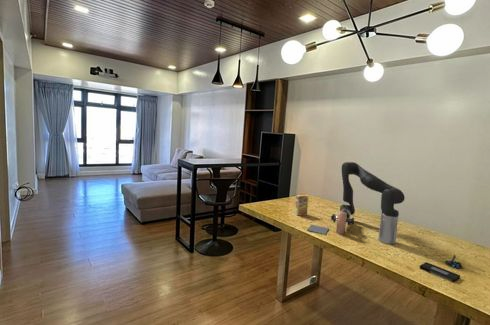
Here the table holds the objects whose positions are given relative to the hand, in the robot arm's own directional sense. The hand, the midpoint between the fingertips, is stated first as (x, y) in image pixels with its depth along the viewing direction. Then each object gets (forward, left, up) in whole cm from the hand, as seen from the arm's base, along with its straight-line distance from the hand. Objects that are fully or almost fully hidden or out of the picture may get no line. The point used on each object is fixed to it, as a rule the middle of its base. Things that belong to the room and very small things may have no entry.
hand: (341, 222), depth 172 cm
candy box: (+33, -25, -8) cm, 42 cm away
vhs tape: (-50, +24, -9) cm, 56 cm away
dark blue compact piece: (-58, +10, -9) cm, 59 cm away
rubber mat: (+14, +1, -8) cm, 16 cm away
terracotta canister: (0, -2, -8) cm, 8 cm away
